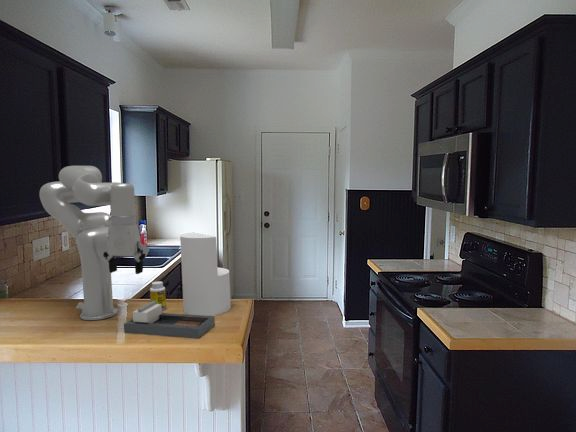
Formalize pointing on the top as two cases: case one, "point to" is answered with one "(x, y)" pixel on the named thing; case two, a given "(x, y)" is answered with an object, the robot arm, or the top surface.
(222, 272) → the cylinder
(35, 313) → the top surface
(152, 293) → the supplement bottle
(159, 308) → the slider knob
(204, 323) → the dark grey tray
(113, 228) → the robot arm
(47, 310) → the top surface
